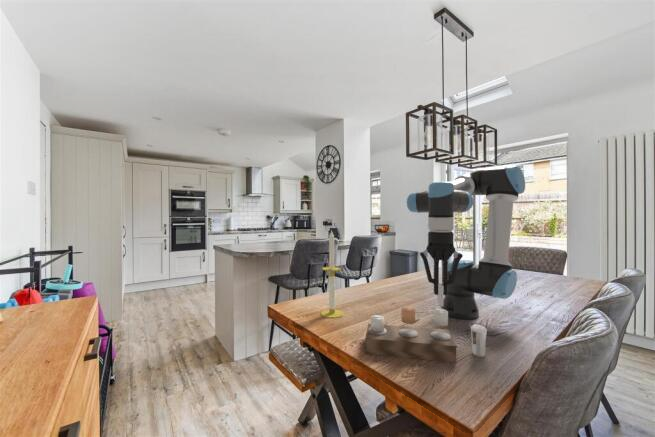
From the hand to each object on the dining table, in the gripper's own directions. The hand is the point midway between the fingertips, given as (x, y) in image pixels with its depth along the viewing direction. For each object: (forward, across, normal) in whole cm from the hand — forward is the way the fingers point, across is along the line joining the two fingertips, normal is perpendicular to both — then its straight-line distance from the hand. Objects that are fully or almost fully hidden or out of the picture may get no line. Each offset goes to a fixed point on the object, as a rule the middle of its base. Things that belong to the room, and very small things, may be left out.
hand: (440, 304), depth 91 cm
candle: (+16, +41, -27) cm, 51 cm away
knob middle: (+6, +10, 0) cm, 12 cm away
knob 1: (+10, +20, 0) cm, 22 cm away
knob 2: (+6, 0, 0) cm, 6 cm away
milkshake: (+16, -11, -1) cm, 19 cm away
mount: (+15, +10, 0) cm, 18 cm away
